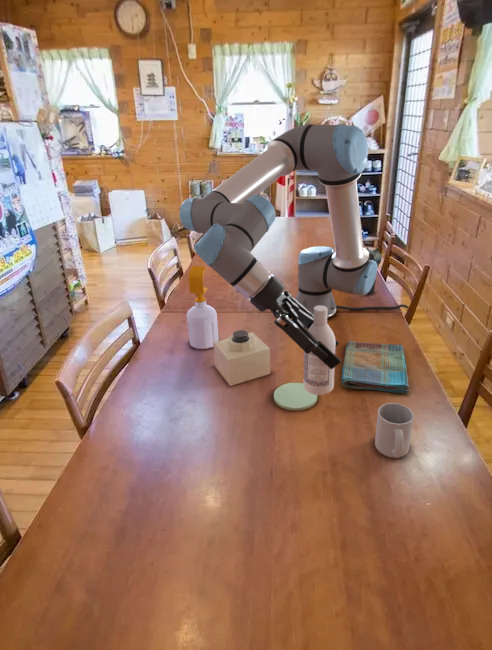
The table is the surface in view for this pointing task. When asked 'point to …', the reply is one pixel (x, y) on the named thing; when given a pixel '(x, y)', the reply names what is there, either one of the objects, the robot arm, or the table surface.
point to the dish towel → (375, 367)
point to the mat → (294, 397)
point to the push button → (240, 336)
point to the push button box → (242, 359)
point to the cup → (393, 429)
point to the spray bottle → (201, 313)
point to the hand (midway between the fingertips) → (335, 355)
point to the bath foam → (316, 370)
